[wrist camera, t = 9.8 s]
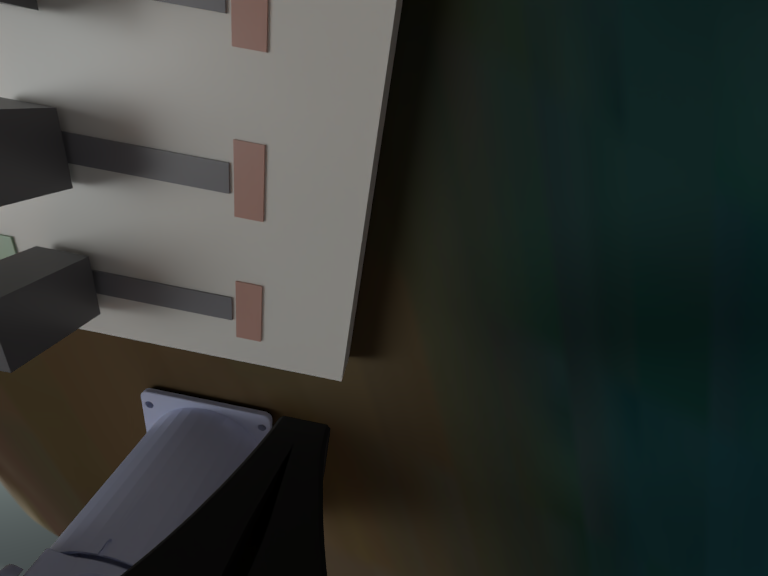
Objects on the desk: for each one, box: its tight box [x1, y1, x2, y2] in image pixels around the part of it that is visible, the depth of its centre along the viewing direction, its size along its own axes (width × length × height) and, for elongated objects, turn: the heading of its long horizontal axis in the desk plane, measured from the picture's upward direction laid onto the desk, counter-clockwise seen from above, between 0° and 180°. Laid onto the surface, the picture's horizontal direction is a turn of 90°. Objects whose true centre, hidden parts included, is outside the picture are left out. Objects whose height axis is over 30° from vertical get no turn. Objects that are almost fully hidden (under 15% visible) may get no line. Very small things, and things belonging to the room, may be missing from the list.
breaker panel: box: [0, 0, 403, 381], centre depth 16 cm, size 18×22×2 cm
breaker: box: [0, 246, 101, 373], centre depth 16 cm, size 3×2×4 cm
